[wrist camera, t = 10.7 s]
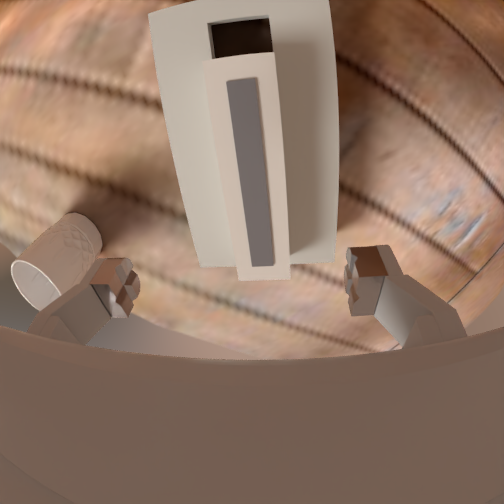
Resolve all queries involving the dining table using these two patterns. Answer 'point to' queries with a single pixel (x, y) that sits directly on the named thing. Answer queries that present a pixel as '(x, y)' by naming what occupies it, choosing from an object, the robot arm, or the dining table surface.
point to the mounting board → (291, 108)
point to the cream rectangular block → (251, 161)
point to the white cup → (57, 260)
